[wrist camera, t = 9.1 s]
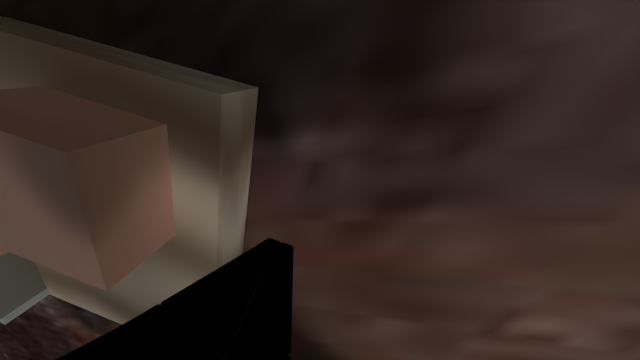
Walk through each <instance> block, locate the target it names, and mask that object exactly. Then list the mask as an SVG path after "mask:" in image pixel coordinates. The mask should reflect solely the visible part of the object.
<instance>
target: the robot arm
mask: <svg viewBox="0 0 640 360" xmlns="http://www.w3.org/2000/svg"><path fill="white" fill-rule="evenodd" d="M292 286H293V246H291V245H289V244H286V243H280V241H277V240H274V239H271V238H268V239H266V240H265V241H263V242H261V243H260V244H258V245H256V246H255V247H253V248H251V249H249V250H248V251H246V252H244V253H243V254H241V255H239V256H238V257H236V258H234V259H233V260H231V261H229V262H228V263H226V264H224V265H223V266H221V267H219V268H218V269H216V270H214V271H212V272H211V273H209V274H207V275H206V276H204V277H202V278H201V279H199V280H197V281H196V282H194V283H192V284H191V285H189V286H187V287H186V288H184V289H182V290H181V291H179V292H177V293H175V294H174V295H172V296H170V297H169V298H167V299H165V300H164V301H162V302H161V304H157V305H155V306H153V307H152V308H150V309H148V310H147V311H145V312H143V313H142V314H140V315H138V316H136V317H135V318H133V319H131V320H129V321H128V322H126V323H124V324H122V325H120V326H119V327H117V328H115V329H113V330H111V331H109V332H108V333H106V334H104V335H102V336H100V337H98V338H96V339H94V340H92V341H90V342H88V343H86V344H85V345H83V346H81V347H79V348H77V349H75V350H73V351H71V352H69V353H67V354H65V355H63V356H61V357H59V358H57V359H55V360H291V357H290V355H291V328H292Z"/></svg>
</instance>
